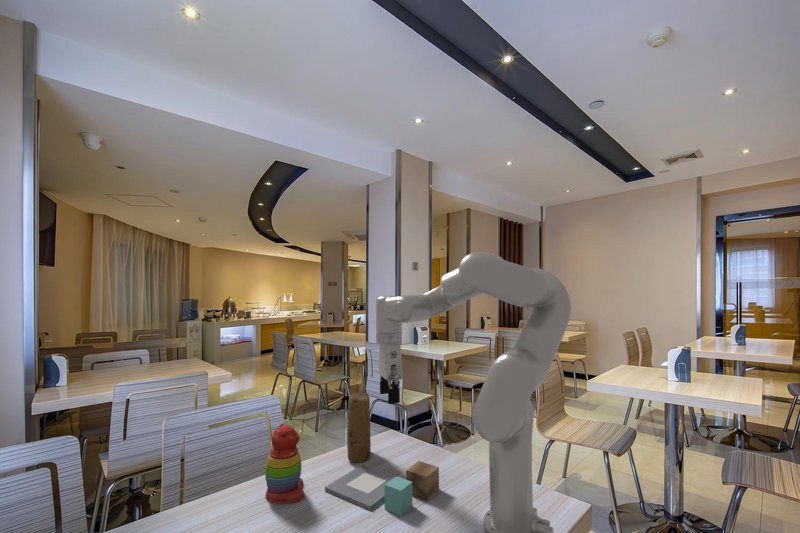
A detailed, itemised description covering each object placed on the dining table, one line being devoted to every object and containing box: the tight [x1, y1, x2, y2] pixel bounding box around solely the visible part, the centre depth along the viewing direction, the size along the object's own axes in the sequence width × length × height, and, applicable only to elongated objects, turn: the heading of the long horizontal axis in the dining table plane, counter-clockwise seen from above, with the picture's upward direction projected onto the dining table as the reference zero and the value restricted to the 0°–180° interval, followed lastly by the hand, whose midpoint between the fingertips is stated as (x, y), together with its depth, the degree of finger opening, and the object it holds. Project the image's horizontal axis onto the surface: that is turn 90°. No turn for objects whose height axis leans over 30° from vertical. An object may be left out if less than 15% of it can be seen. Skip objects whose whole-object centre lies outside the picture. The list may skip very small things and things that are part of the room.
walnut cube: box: [405, 460, 440, 501], centre depth 101 cm, size 6×6×6 cm
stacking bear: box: [264, 422, 306, 504], centre depth 101 cm, size 11×10×18 cm
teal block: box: [384, 475, 413, 517], centre depth 94 cm, size 5×5×6 cm
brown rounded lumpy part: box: [346, 391, 372, 463], centre depth 122 cm, size 11×8×20 cm
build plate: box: [324, 463, 406, 511], centre depth 103 cm, size 16×16×1 cm
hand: (389, 398), depth 107 cm, fingers open, 9 cm apart
